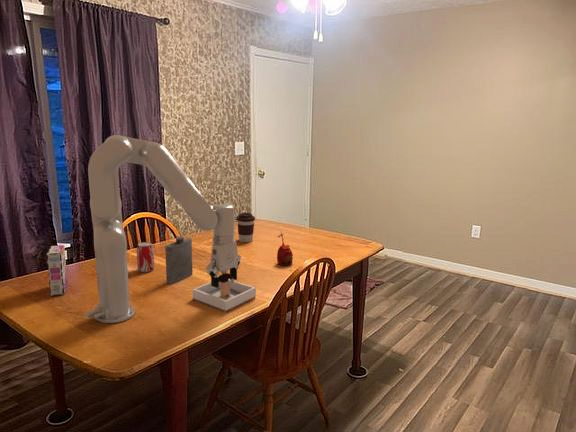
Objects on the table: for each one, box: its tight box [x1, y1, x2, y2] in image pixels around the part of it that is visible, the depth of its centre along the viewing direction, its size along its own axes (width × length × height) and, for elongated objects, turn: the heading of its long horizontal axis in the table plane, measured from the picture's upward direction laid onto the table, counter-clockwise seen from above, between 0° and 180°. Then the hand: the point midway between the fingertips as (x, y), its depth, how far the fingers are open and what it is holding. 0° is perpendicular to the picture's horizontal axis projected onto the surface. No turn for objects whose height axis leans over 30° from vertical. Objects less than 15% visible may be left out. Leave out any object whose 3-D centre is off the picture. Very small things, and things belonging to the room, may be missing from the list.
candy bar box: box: [46, 244, 68, 297], centre depth 164 cm, size 11×5×16 cm, turn 21°
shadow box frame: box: [192, 279, 257, 313], centre depth 162 cm, size 16×17×4 cm
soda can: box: [136, 241, 155, 273], centre depth 188 cm, size 7×7×12 cm
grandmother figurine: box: [217, 269, 235, 299], centre depth 161 cm, size 8×4×13 cm, turn 140°
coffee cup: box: [236, 212, 256, 243], centre depth 235 cm, size 10×10×15 cm
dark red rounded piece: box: [276, 231, 294, 266], centre depth 200 cm, size 8×7×15 cm
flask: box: [164, 236, 194, 285], centre depth 178 cm, size 4×14×18 cm, turn 152°
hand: (224, 282), depth 161 cm, fingers open, 9 cm apart
